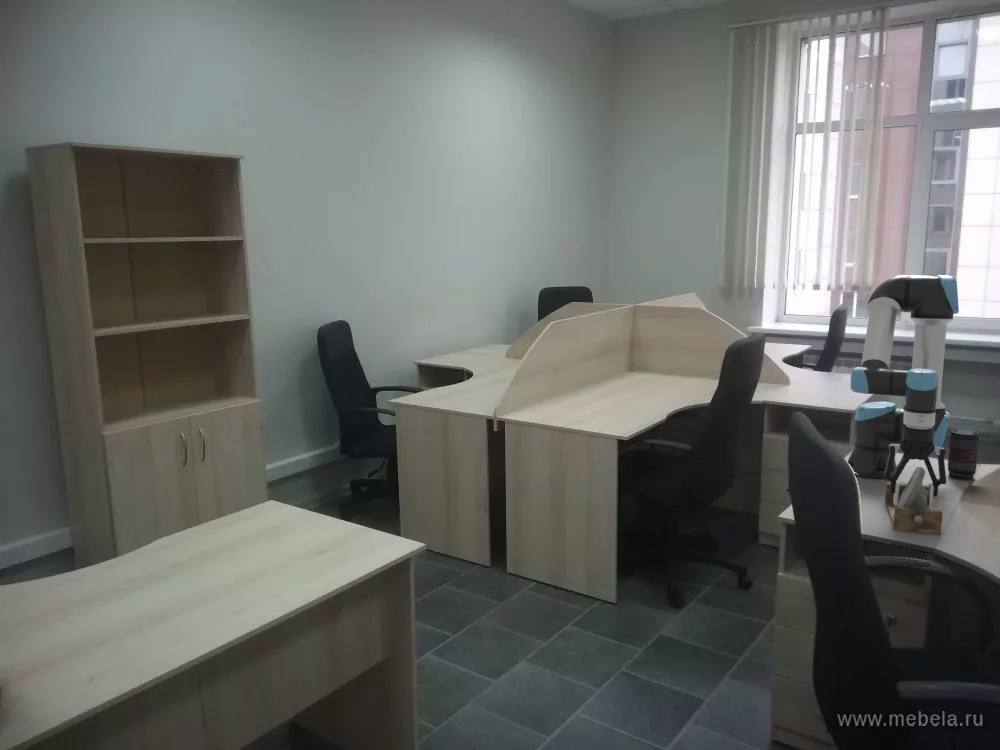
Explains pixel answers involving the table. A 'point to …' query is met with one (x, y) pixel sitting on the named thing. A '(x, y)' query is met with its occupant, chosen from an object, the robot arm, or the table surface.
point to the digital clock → (915, 492)
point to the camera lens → (963, 454)
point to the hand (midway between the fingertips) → (912, 505)
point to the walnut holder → (912, 515)
